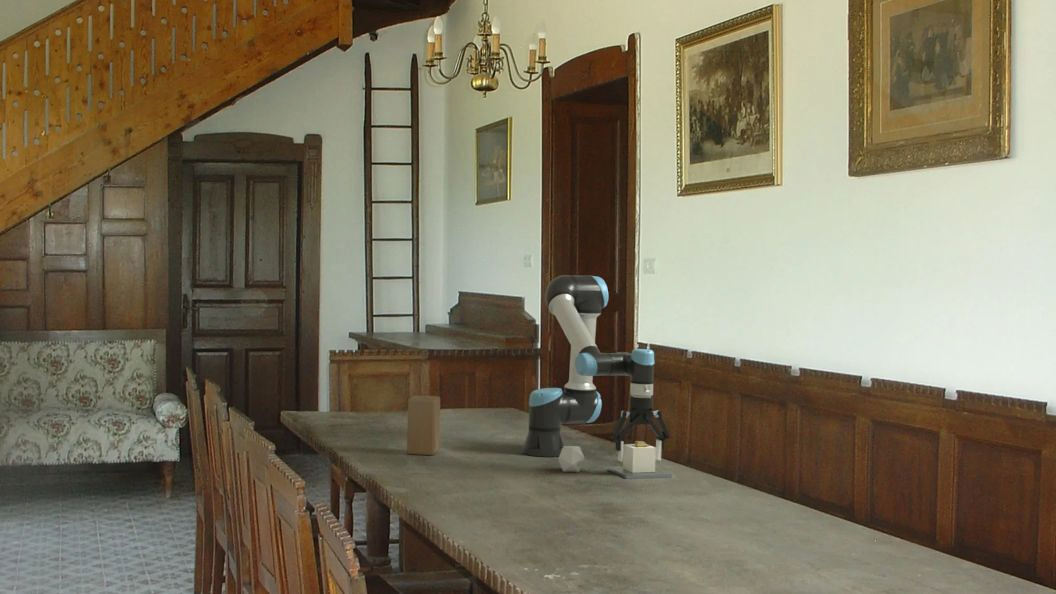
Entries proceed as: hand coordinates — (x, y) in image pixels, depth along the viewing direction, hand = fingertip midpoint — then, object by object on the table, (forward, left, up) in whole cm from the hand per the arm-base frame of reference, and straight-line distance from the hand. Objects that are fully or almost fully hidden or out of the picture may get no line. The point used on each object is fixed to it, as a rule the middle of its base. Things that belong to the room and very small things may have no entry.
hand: (639, 460), depth 363 cm
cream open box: (0, 0, -3) cm, 3 cm away
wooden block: (-62, +49, -4) cm, 79 cm away
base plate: (0, 0, -4) cm, 4 cm away
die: (-21, +8, -4) cm, 23 cm away
